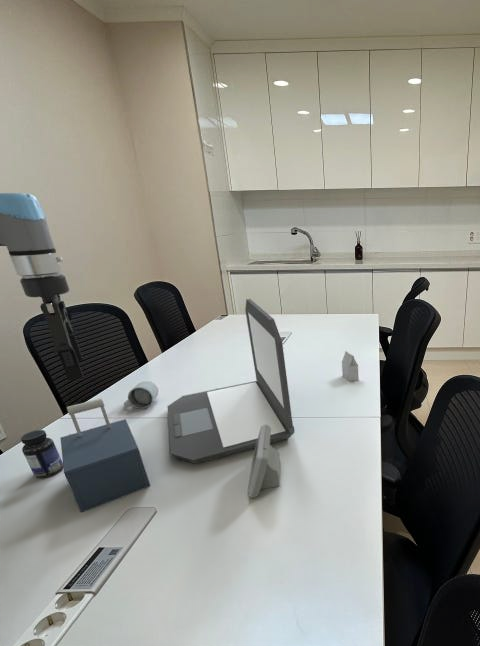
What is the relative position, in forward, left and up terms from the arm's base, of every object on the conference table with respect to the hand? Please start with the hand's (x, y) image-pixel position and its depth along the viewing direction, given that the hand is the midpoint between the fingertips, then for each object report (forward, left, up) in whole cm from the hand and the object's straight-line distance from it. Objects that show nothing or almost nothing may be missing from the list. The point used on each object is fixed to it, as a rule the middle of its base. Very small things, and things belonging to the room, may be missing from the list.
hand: (76, 369), depth 89 cm
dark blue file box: (+8, -1, -27) cm, 28 cm away
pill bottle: (-7, -13, -27) cm, 31 cm away
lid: (+7, -1, -17) cm, 18 cm away
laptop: (-3, +31, -27) cm, 41 cm away
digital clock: (+31, +28, -27) cm, 50 cm away
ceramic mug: (-34, +13, -27) cm, 46 cm away
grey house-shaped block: (-5, +80, -27) cm, 85 cm away
